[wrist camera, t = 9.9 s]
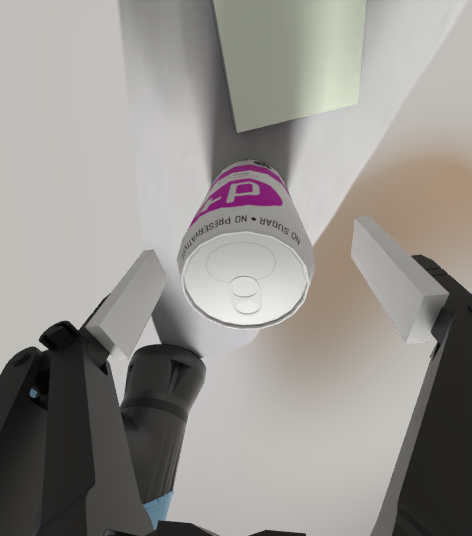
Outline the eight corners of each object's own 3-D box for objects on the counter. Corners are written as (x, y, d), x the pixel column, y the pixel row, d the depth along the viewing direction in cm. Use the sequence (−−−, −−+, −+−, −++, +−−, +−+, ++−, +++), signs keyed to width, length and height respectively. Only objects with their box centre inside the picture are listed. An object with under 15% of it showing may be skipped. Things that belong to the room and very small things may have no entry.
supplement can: (203, 165, 22) (145, 230, 10) (285, 152, 21) (328, 208, 9) (219, 236, 27) (191, 338, 15) (287, 228, 26) (317, 332, 14)
